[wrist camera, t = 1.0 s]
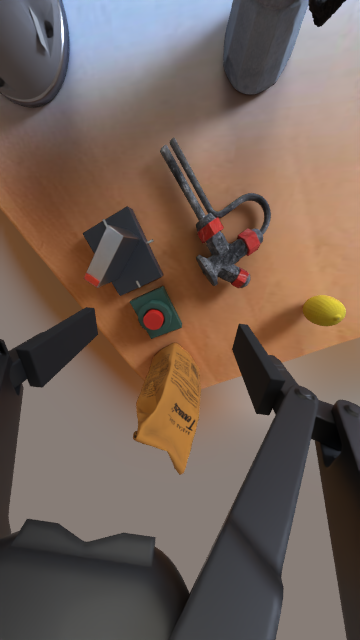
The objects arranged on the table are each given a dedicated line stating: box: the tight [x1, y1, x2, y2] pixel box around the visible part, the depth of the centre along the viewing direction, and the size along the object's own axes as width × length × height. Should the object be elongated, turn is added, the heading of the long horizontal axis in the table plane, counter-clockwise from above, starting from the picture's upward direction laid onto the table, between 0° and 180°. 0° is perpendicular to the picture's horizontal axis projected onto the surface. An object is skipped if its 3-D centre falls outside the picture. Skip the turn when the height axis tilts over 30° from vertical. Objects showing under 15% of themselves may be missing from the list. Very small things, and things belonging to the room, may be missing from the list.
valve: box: [160, 138, 271, 288], centre depth 28 cm, size 6×26×15 cm
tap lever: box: [84, 225, 140, 288], centre depth 28 cm, size 9×2×8 cm, turn 144°
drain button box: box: [130, 286, 182, 339], centre depth 37 cm, size 10×8×4 cm
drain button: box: [143, 309, 164, 330], centre depth 35 cm, size 4×4×2 cm
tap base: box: [83, 206, 163, 296], centre depth 33 cm, size 13×13×3 cm
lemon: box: [303, 295, 346, 326], centre depth 32 cm, size 6×6×8 cm
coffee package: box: [133, 343, 201, 474], centre depth 34 cm, size 10×12×22 cm
